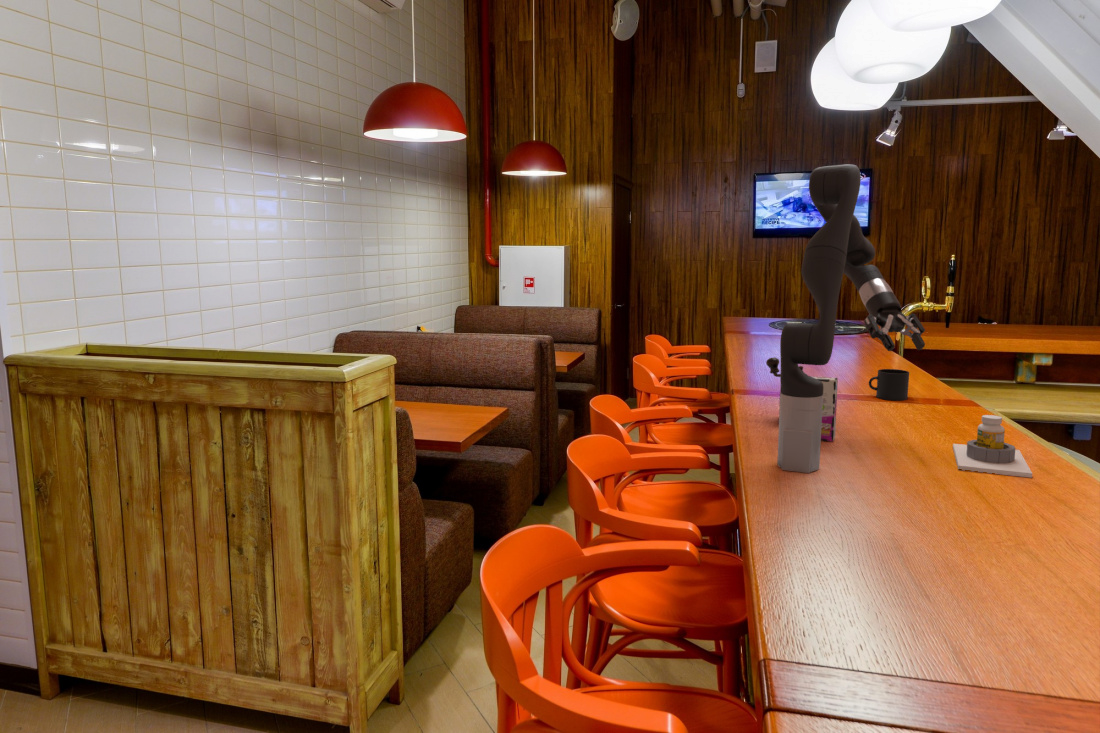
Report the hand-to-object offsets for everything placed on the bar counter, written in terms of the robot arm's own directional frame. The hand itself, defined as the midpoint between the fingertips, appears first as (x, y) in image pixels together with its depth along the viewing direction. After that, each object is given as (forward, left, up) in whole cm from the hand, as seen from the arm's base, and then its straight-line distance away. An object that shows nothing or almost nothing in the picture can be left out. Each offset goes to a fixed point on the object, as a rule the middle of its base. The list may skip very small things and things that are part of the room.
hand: (906, 348), depth 178 cm
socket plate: (-7, -19, -25) cm, 32 cm away
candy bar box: (-1, +21, -25) cm, 33 cm away
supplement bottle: (-7, -19, -24) cm, 31 cm away
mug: (+62, +4, -25) cm, 67 cm away
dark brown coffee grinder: (+16, +29, -25) cm, 42 cm away
